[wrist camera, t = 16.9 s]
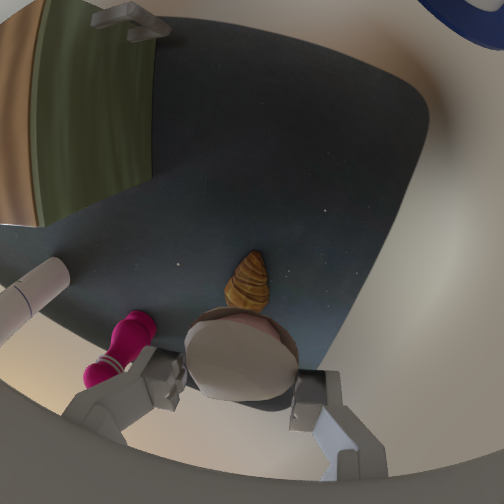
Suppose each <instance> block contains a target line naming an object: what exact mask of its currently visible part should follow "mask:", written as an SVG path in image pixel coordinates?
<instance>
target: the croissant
mask: <svg viewBox="0 0 504 504" xmlns="http://www.w3.org/2000/svg"><path fill="white" fill-rule="evenodd" d="M267 280H268V276H267V272H266V269H265V265H264V261H263V258H262V254H261V253H260V252H258V251H251V252H250V253H249V254H248V255H247V256H246V257H245V258H244V259H243V260H242V262H241V263H240V264H239V265H238V266H237V268H236V269H235V274H234V275H233V276H232V277H231V279H230V280H229V281H228V283H227V285H226V287H225V289H224V291H225V299H226V302H227V304H228V307H236V308H242V309H249V310H252V311H254V312H257V313H259V312H261V311H262V310H263V309H264V308H265V306H266V305H267V303H268V302H269V288H268V285H267Z"/></svg>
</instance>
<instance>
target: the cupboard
mask: <svg viewBox="0 0 504 504" xmlns="http://www.w3.org/2000/svg"><path fill="white" fill-rule="evenodd" d="M45 2H46V0H35V1H33V2H32V3H30V4H29V5H27V6H25V7H24V8H23V9H21V10H19V11H18V12H17V13H15V14H14V15H12V16H11V17H10V18H8V19H7V20H6V21H4V22H3V23H2V24H0V224H5V225H17V226H28V227H38V226H39V221H38V215H37V209H36V202H35V194H34V185H33V175H32V162H31V140H30V111H31V90H32V77H33V68H34V59H35V52H36V45H37V39H38V34H39V29H40V24H41V19H42V15H43V10H44V6H45Z"/></svg>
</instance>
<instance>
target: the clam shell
mask: <svg viewBox="0 0 504 504" xmlns="http://www.w3.org/2000/svg"><path fill="white" fill-rule="evenodd" d="M184 343H185V350H186V365H187V368H188V370H189V373H190V374H191V376H192V378H193V379H194V381H195V382H196V384H197V385H198V387H199V389H200V391H201V392H202V394H203V395H204V396H206V397H208V398H212V399H217V400H224V401H248V400H253V401H258V400H267V399H271V398H273V397H276V396H278V395H281V394H283V393H284V392H285V391H286V390H287V389H288V388H289V387H290V386H291V385H293V383H294V382H295V379H296V374H297V369H298V367H299V354H298V349H297V346H296V343H295V341H294V340H293V339H292V337H291V336H290V334H289V333H288V331H287V330H285V329H284V328H283V327H282V326H280V325H279V324H278V323H276V322H275V321H274V320H273V319H271V318H270V317H269V316H264V315H262V314H259V313H257V312H254V311H252V310H249V309H242V308H236V307H217V308H215V309H212V310H210V311H207V312H205V313H203V314H202V315H201V316H200V317H199V318H198V319H197V320H196V321H195V322H194V323H193V324H192V325H191V327H190V330H189V331H188V333H187V336H186V338H185V341H184Z"/></svg>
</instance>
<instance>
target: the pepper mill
mask: <svg viewBox="0 0 504 504" xmlns="http://www.w3.org/2000/svg"><path fill="white" fill-rule="evenodd" d="M155 333H156V325H155V322H154V321H153V319H152V318H151V317H150V316H149V315H147V314H146V313H144V312H142V311H132V312H130V313H129V315H128V316H127V317H126V318H125V320H122V321H120V322H119V323H118V324H117V325H116V327H115V328H114V330H113V334H112V339H111V346H110V348H109V350H108V351H107V353H106V354H105V355H101V356H100V357H99V358H98V360H97V361H96V363H93V364H91V365H89V366H88V367H87V368H86V370H85V372H84V375H83V380H84V384H85V386H86V388H87V389H88V388H91V387H93V386H95V385H97V384H99V383H101V382H103V381H106V380H108V379H110V378H112V377H114V376H116V375H118V374H120V373H122V372H124V369H125V367H126V366H127V365H128V364H129V363H130V362H131V361H133V360H135V359H136V358H137V357H138V355H139V354H140V352H141V351H142V349H143V348H144V347H145V346H146V345H149V346H150V345H151V339H152V338H153V337H154V335H155Z"/></svg>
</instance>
